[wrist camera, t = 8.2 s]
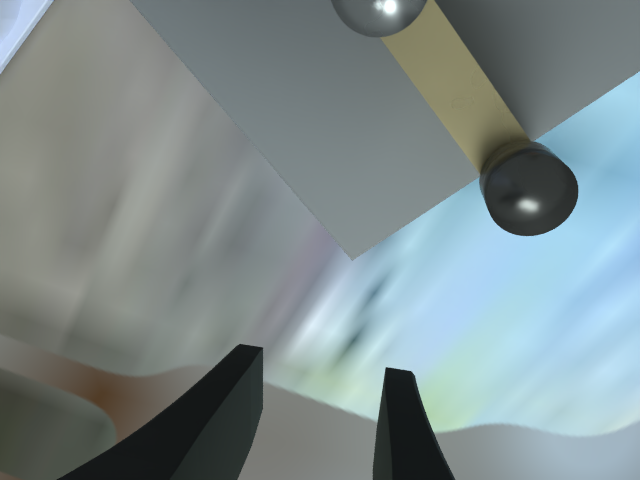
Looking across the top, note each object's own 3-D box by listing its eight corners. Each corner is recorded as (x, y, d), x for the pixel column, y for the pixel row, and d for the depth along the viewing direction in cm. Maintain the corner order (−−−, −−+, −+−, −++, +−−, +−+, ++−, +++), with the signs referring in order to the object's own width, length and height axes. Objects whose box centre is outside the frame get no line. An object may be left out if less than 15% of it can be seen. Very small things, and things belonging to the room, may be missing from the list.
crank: (328, -16, 15) (296, -29, 11) (394, -81, 14) (387, -122, 10) (485, 196, 17) (509, 254, 13) (553, 153, 16) (602, 200, 12)
